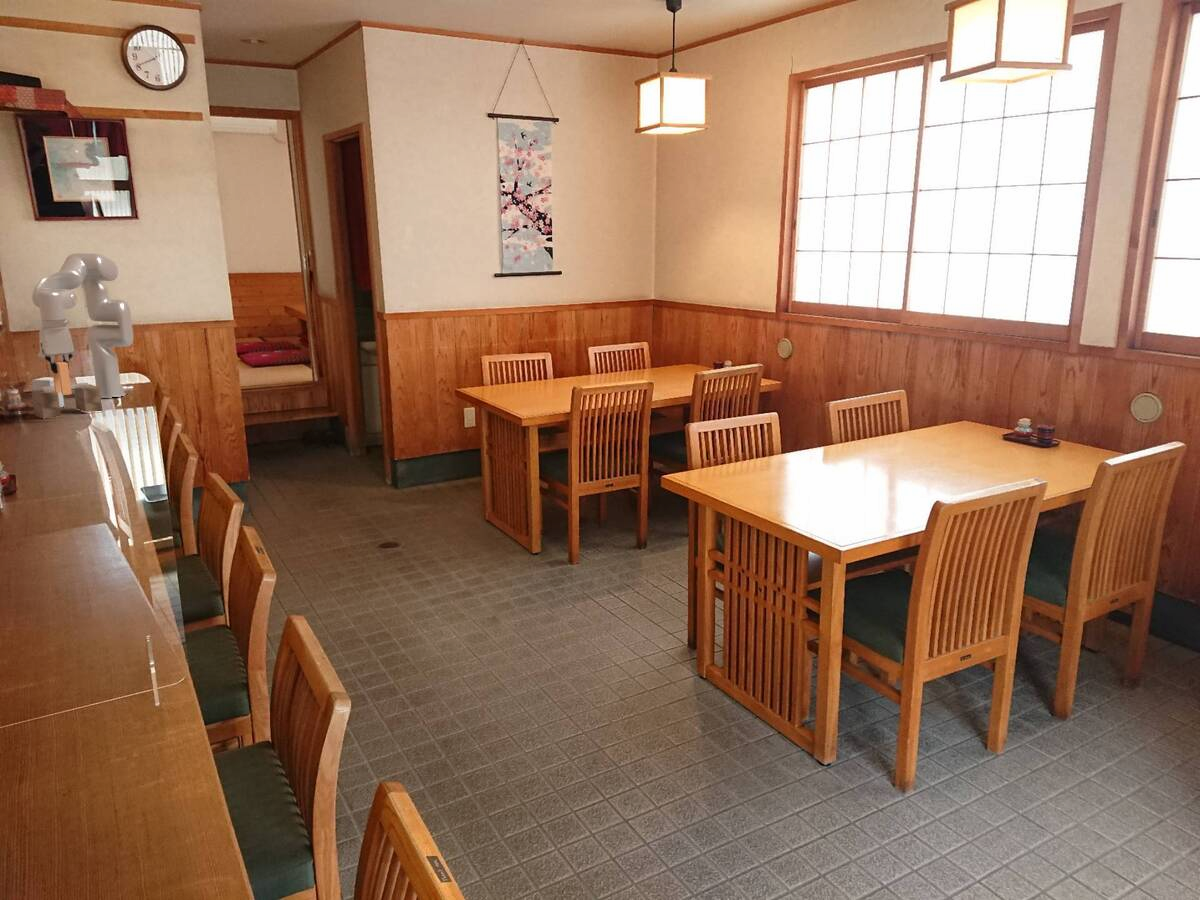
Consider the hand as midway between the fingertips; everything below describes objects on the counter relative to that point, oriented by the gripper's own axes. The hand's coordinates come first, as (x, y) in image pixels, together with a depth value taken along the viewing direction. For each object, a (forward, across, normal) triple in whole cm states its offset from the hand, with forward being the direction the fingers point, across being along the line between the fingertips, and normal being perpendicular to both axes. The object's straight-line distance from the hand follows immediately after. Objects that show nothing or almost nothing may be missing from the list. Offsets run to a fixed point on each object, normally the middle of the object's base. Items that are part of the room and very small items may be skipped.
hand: (60, 371), depth 319 cm
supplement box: (+19, -2, -25) cm, 32 cm away
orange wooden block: (+8, 0, 0) cm, 8 cm away
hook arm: (+9, -5, -12) cm, 15 cm away
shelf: (+19, -4, -11) cm, 23 cm away
